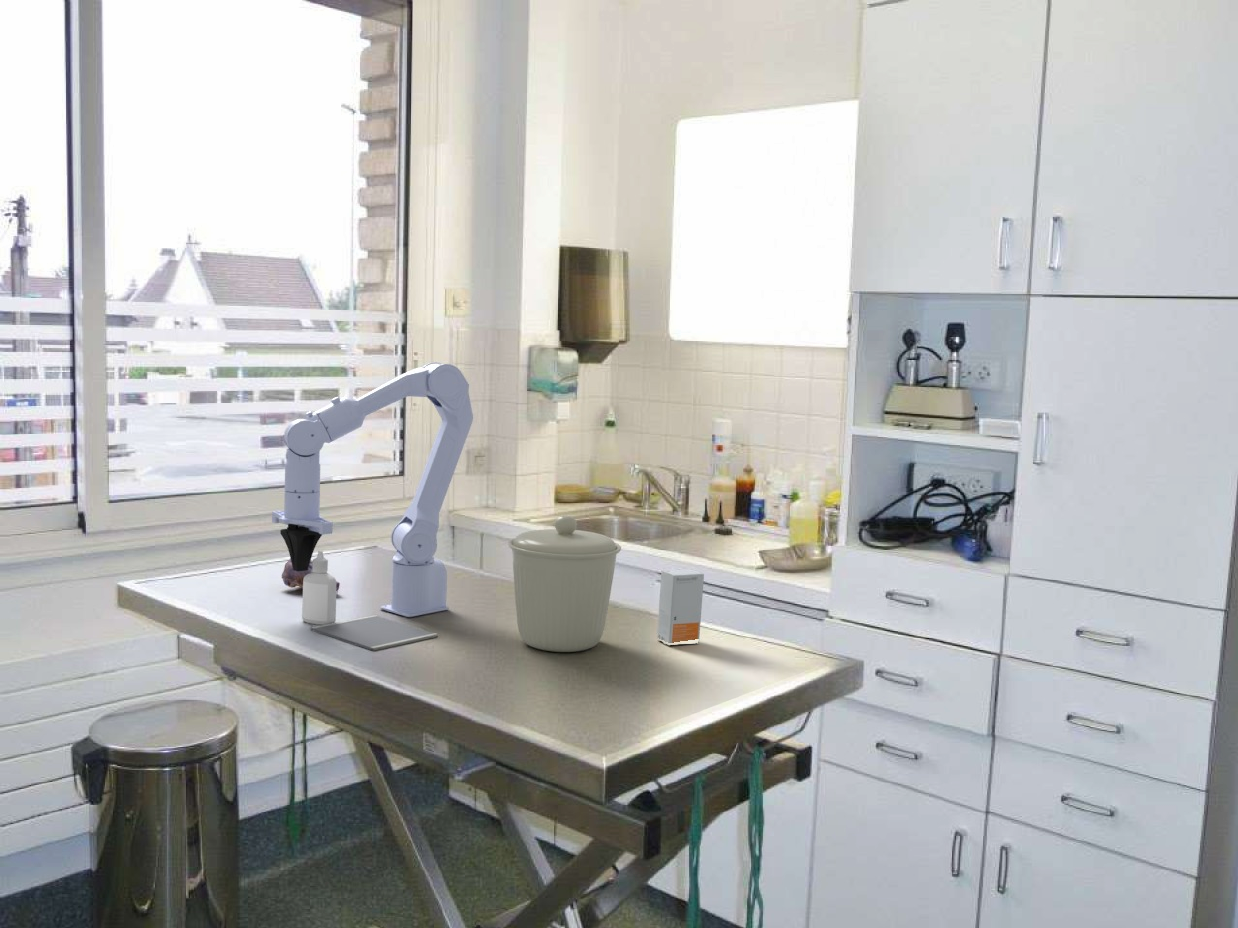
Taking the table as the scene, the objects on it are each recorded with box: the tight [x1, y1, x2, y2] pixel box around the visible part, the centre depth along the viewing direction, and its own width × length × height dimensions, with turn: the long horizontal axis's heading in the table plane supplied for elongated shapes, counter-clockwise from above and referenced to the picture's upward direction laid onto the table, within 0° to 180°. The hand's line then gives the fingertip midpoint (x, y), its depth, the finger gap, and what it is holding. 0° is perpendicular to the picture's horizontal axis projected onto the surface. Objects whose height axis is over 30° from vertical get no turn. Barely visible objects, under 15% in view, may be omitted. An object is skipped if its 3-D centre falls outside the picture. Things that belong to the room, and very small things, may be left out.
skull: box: [281, 557, 341, 594], centre depth 207 cm, size 12×8×6 cm, turn 54°
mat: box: [310, 614, 438, 652], centre depth 180 cm, size 13×16×1 cm
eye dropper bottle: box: [301, 550, 337, 626], centre depth 185 cm, size 4×6×12 cm
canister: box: [507, 515, 622, 653], centre depth 178 cm, size 18×18×21 cm
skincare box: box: [656, 568, 705, 643], centre depth 184 cm, size 6×4×12 cm
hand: (300, 570), depth 188 cm, fingers closed
